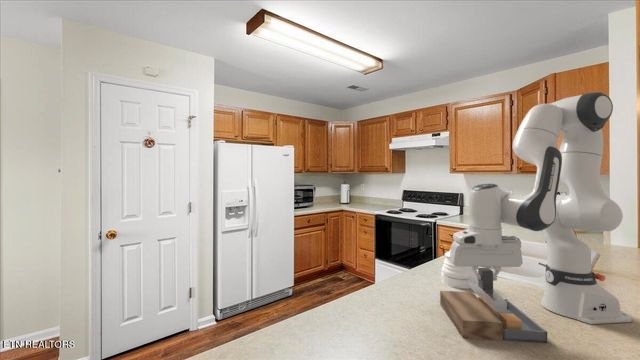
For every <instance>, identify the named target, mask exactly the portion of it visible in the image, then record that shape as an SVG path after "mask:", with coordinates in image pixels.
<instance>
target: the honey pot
mask: <svg viewBox="0 0 640 360" xmlns="http://www.w3.org/2000/svg"><path fill="white" fill-rule="evenodd" d="M450 250H451V248H450V249H449V251H446V252H445V253H444V256H445V259H444V261H443V265H442V267H441V282H442V283H443V284H445V285H447V286H450V287H453V288H456V289H465V290H466V289H471V288H470V287H469V277H474V272H473V271H472V269H471V267H466V266H455V265H454V264H453V263H452V262H451V261H450Z"/></svg>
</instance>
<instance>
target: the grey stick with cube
mask: <svg viewBox="0 0 640 360" xmlns="http://www.w3.org/2000/svg"><path fill="white" fill-rule="evenodd" d="M477 272H478V273H480V274H481V275H482V280H476V279H475V277H469V287H470V288H469V289H472V290H473V292H474V293H475V294H476V295H478V297H481V298H482V299H483V300H484V301H485V302H486V303H487V304H488V305H489V306H490V307H491V308H492V309H493V310H494V311H495V312H507V302H506V301H505V300H504V297H502V296H501V295H499V293H497V292H496V291H495V290H494V281H493V270H492V269H491V268H489V267H478V270H477Z"/></svg>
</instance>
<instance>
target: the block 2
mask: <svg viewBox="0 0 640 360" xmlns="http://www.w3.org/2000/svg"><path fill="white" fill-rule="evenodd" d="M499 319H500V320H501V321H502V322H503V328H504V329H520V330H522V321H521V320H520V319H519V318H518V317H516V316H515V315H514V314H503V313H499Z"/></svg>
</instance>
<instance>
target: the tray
mask: <svg viewBox="0 0 640 360" xmlns="http://www.w3.org/2000/svg"><path fill="white" fill-rule="evenodd" d="M503 299H504V298H503ZM504 300H505V301H506V302H507V312H497V315H496V316H497V317H498V318H499V313H503V314H514V315H515V316H516V317H518V318H519V319H520V320H521V321H522V330H520V329H504V328H503V340H502V341H511V342H524V343H525V342H526V343H527V342H528V343H544V344H548V331H547V330H546V329H544V328H543V327H541V326H540V325H539V324H538V323H537V322H535V321H534V320H533V319H532V318H531V317H529V316H528V315H527V314H525V313H524V312H523V311H522V310H521V309H519V308H518V307H517V306H515V305H514V304H513V303H512V302H511V301H509V300H508V299H507V298H506V299H504Z"/></svg>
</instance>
